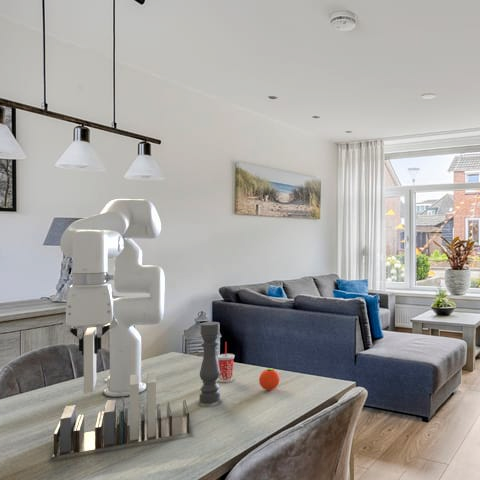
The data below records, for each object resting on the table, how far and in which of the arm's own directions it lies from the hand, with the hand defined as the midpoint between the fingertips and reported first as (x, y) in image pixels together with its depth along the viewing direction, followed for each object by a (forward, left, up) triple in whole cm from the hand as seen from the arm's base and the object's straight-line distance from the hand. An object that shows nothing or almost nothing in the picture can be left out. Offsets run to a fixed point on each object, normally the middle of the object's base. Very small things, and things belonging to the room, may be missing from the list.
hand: (90, 352), depth 113 cm
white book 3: (+10, +10, -22) cm, 26 cm away
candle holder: (+10, +34, -23) cm, 42 cm away
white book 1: (0, 0, -9) cm, 9 cm away
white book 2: (+7, +7, -22) cm, 24 cm away
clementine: (+21, +52, -23) cm, 60 cm away
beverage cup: (+1, +55, -23) cm, 59 cm away
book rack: (+6, +6, -23) cm, 24 cm away
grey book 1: (-3, -3, -22) cm, 22 cm away
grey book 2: (+3, +3, -22) cm, 22 cm away
